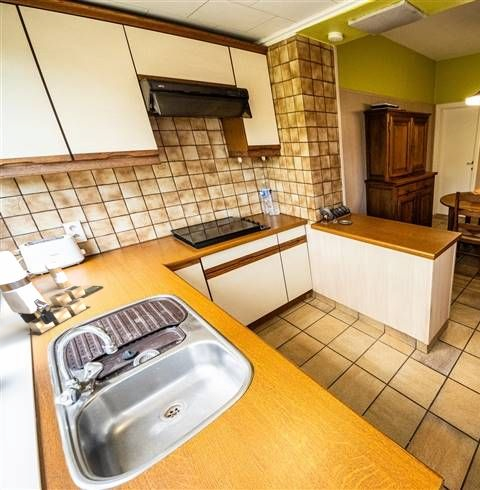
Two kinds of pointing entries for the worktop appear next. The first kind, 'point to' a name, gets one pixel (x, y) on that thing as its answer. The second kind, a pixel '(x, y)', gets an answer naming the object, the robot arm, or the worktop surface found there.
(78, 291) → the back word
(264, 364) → the worktop surface
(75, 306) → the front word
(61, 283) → the sprinkles bottle
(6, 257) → the robot arm
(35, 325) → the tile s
